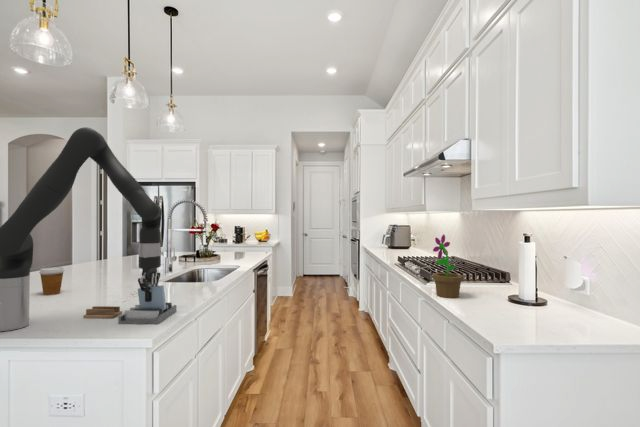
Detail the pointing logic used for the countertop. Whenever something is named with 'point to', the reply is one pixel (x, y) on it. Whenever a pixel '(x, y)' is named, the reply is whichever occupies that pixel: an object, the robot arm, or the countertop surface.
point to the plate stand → (102, 312)
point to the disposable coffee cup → (51, 280)
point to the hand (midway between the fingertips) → (149, 300)
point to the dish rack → (146, 315)
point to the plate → (153, 298)
